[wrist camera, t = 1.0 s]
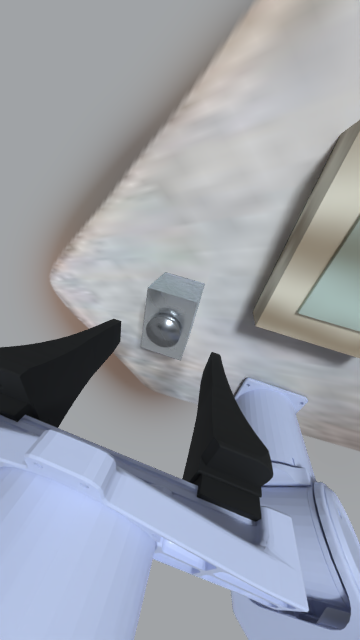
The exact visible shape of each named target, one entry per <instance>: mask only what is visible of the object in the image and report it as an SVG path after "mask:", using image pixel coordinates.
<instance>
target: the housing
mask: <svg viewBox="0 0 360 640" xmlns="http://www.w3.org/2000/svg"><path fill="white" fill-rule="evenodd" d="M204 286H205V283H201V282H198V281H195V280H191V279H188V278H184V277H181V276H177V275H174V274H171V273H167V272H165V273H164V274H163V275H161V276H160V277H159V278H158V279H157V280H156V281H155V282H153V283H152V284H151V285H150V286H149V287H148V290H147V299H146V307H145V316H144V324H143V333H142V341H141V347H142V348H145V349H148V350H151V351H154V352H156V353H159V354H162V355H165V356H168V357H171V358H174V359H177V360H180V361H181V358H182V356H183V353H184V350H185V347H186V344H187V341H188V339H189V336H190V333H191V329H192V326H193V323H194V319H195V316H196V312H197V309H198V306H199V302H200V299H201V296H202V292H203V289H204Z"/></svg>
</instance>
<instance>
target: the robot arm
mask: <svg viewBox="0 0 360 640" xmlns="http://www.w3.org/2000/svg"><path fill="white" fill-rule="evenodd" d="M120 335H121V321H119V320H116V319H112V320H110V321H107V322H105V323H102V324H100V325H98V326H95V327H93V328H90V329H88V330H85V331H82V332H79V333H77V334H74V335H71V336H68V337H63V338H60V339H56V340H51V341H46V342H42V343H36V344H29V345H22V346H13V347H1V348H0V640H134V637H135V633H136V628H137V624H138V620H139V616H140V611H141V607H142V602H143V598H144V594H145V589H146V585H147V581H148V577H149V573H150V568H151V564H152V560H153V559H154V560H157V561H159V562H161V563H164V564H166V565H169V566H172V567H174V568H176V569H179V570H181V571H184V572H187V573H189V574H192V575H194V576H196V577H199V578H202V579H204V580H207V581H209V582H212V583H214V584H217V585H219V586H221V587H224V588H226V589H229V590H231V597H232V607H233V612H234V614H235V616H236V618H237V620H238V622H239V624H240V626H241V627H242V629H243V631H244V632H245V634H246V636H247V638H248V639H249V640H360V543H359V541H358V538H357V536H356V534H355V532H354V529H353V527H352V525H351V522H350V520H349V518H348V516H347V514H346V512H345V510H344V508H343V506H342V504H341V502H340V500H339V498H338V497H337V495H336V494H335V493H334V492H333V491H332V490H331V489H330V488H328V487H327V486H326V484H324V483H323V482H317V481H316V479H315V476H314V473H313V470H312V466H311V463H310V459H309V456H308V453H307V450H306V446H305V443H304V440H303V437H302V434H301V430H300V427H299V424H298V421H297V417H296V413H297V412H298V411H299V410H300V409H301V408H302V407H303V406H304V405H305V404H306V403H307V402H308V399H307V398H306V397H304V396H301V395H299V394H296V393H293V392H290V391H287V390H284V389H281V388H278V387H275V386H272V385H269V384H266V383H263V382H260V381H257V380H254V379H251V378H247V379H245V381H244V382H243V384H242V386H241V387H240V389H239V391H238V392H237V394H236V395H235V397H234V396H233V393H232V391H231V389H230V386H229V384H228V381H227V378H226V375H225V372H224V368H223V365H222V361H221V356H220V355H219V354H216V353H213V352H211V355H210V357H209V359H208V362H207V364H206V366H205V369H204V371H203V375H202V380H201V385H200V393H199V402H198V411H197V417H196V422H195V427H194V432H193V436H192V441H191V445H190V449H189V454H188V458H187V463H186V466H185V471H184V475H183V479H180V478H178V477H175V476H173V475H170V474H168V473H165V472H163V471H161V470H158V469H156V468H153V467H151V466H148V465H146V464H143V463H141V462H139V461H136V460H134V459H131V458H129V457H127V456H124V455H122V454H119V453H117V452H115V451H112V450H110V449H107V448H105V447H102V446H100V445H98V444H95V443H93V442H90V441H88V440H85V439H83V438H80V437H78V436H76V435H73V434H71V433H68V432H66V431H64V430H61V429H59V428H58V427H59V425H60V424H61V422H62V420H63V419H64V416H65V415H66V414H67V412H68V410H69V409H70V407H71V406H72V404H73V402H74V401H75V400H76V398H77V397H78V395H79V394H80V392H81V391H82V389H83V388H84V386H85V385H86V384H87V382H88V381H89V379H90V378H91V377H92V376H93V374H94V373H95V372H96V371H97V370H98V369H99V368H100V366H101V365H102V364H103V363H104V362H105V360H107V359H108V357H109V356H110V355H111V354H112V353H113V352H114V350H115V349H116V347H117V346H118V344H119V342H120Z"/></svg>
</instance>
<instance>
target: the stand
mask: <svg viewBox="0 0 360 640" xmlns="http://www.w3.org/2000/svg"><path fill="white" fill-rule="evenodd" d="M253 316H254V321H255V326H256V327H260V328H263V329H266V330H269V331H273V332H276V333H279V334H282V335H286V336H289V337H292V338H295V339H299V340H302V341H305V342H308V343H312V344H315V345H318V346H321V347H325V348H328V349H331V350H334V351H337V352H341V353H344V354H347V355H350V356H354V357H357V358H360V120H359V121H358V122H356V123H355V124H354V125H352V126H351V127H350V128H348V129H347V130H345V131H344V132H343V133H341V135H340V137H339V139H338V141H337V143H336V145H335V147H334V149H333V151H332V153H331V155H330V157H329V159H328V161H327V163H326V165H325V167H324V169H323V171H322V173H321V175H320V177H319V179H318V181H317V183H316V185H315V187H314V189H313V191H312V193H311V195H310V197H309V199H308V201H307V203H306V205H305V207H304V209H303V211H302V213H301V215H300V217H299V219H298V221H297V223H296V225H295V227H294V230H293V232H292V234H291V236H290V238H289V240H288V242H287V244H286V246H285V248H284V250H283V252H282V254H281V256H280V258H279V260H278V262H277V264H276V266H275V268H274V270H273V272H272V274H271V276H270V278H269V280H268V282H267V284H266V286H265V288H264V290H263V292H262V294H261V296H260V298H259V300H258V302H257V304H256V306H255V308H254V310H253Z"/></svg>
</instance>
